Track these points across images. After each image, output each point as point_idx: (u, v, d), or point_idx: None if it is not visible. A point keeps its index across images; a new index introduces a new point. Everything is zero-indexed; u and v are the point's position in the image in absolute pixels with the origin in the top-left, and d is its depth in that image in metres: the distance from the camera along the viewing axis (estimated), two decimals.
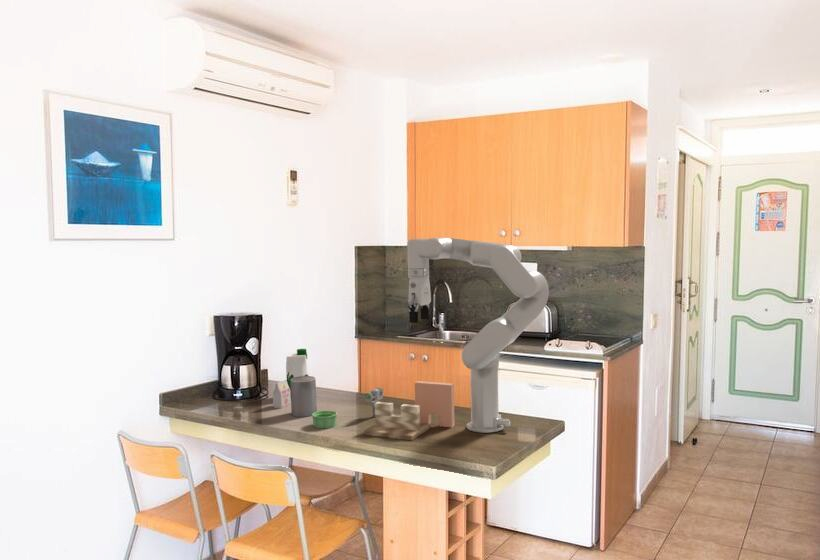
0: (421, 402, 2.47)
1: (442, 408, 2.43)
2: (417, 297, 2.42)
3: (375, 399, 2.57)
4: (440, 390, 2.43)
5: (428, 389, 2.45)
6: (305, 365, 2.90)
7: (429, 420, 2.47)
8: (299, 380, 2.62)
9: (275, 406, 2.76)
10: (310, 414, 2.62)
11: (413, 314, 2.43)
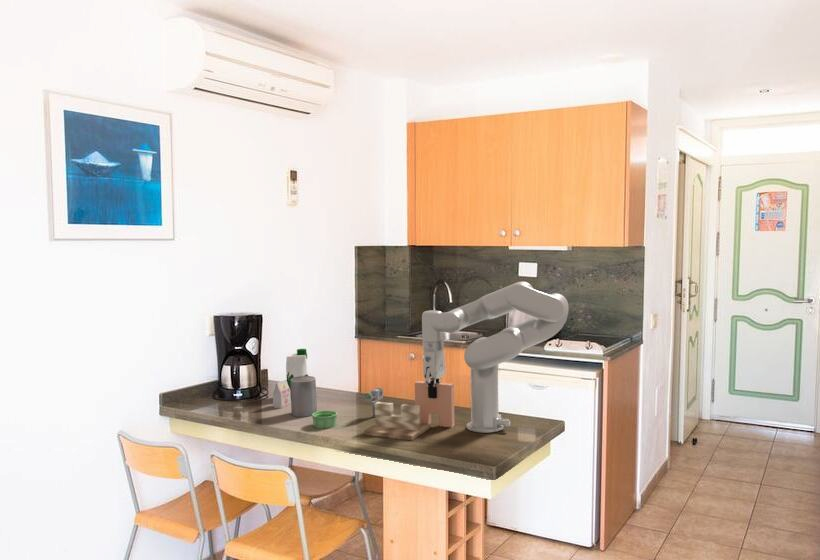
0: (421, 402, 2.47)
1: (442, 408, 2.43)
2: (432, 371, 2.40)
3: (375, 399, 2.57)
4: (440, 390, 2.43)
5: None
6: (305, 365, 2.90)
7: (429, 420, 2.47)
8: (299, 380, 2.62)
9: (275, 406, 2.76)
10: (310, 414, 2.62)
11: (432, 390, 2.43)
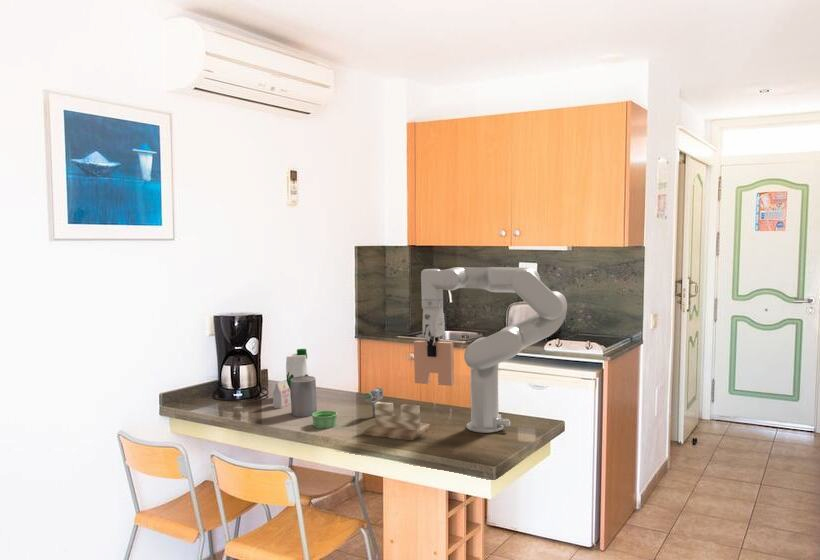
0: (420, 361, 2.46)
1: (442, 366, 2.42)
2: (431, 329, 2.39)
3: (375, 399, 2.57)
4: (439, 348, 2.42)
5: None
6: (305, 365, 2.90)
7: (428, 379, 2.46)
8: (299, 380, 2.62)
9: (275, 406, 2.76)
10: (310, 414, 2.62)
11: (431, 348, 2.42)
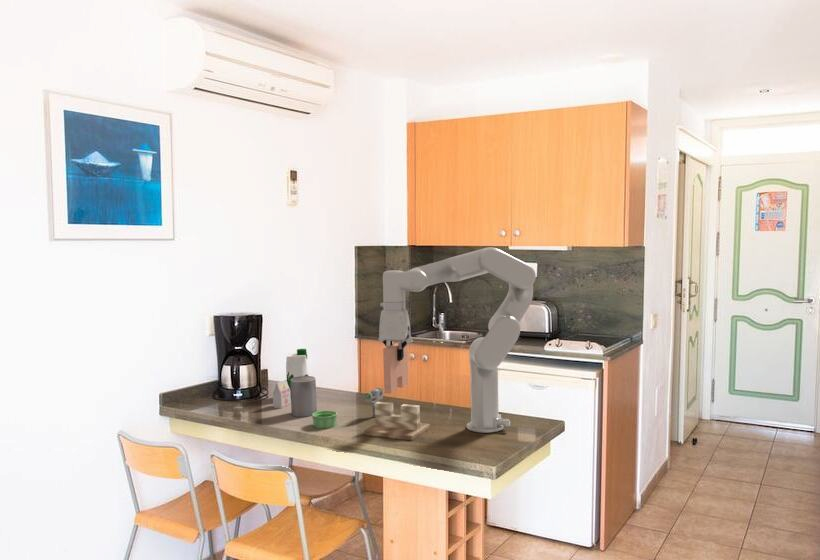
0: None
1: None
2: None
3: (375, 399, 2.57)
4: None
5: None
6: (305, 365, 2.90)
7: (398, 383, 2.40)
8: (299, 380, 2.62)
9: (275, 406, 2.76)
10: (310, 414, 2.62)
11: None
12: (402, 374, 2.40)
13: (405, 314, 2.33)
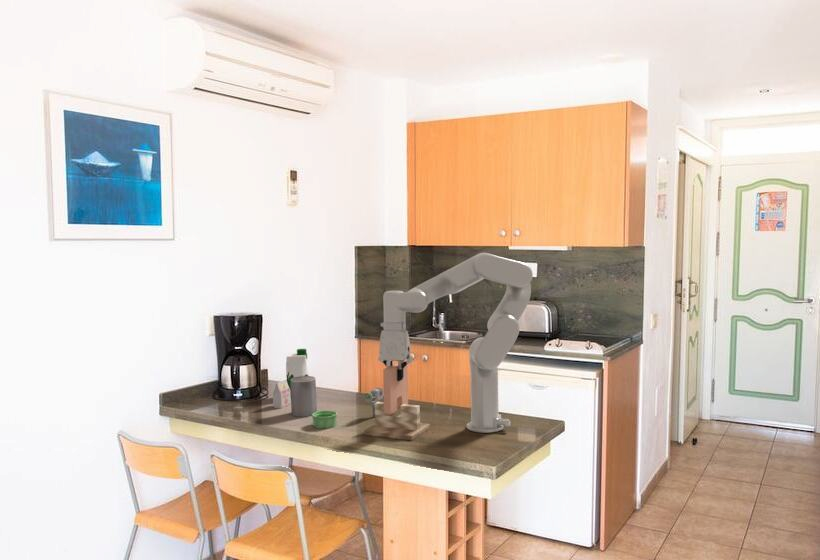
0: None
1: None
2: None
3: (375, 399, 2.57)
4: None
5: None
6: (305, 365, 2.90)
7: (398, 403, 2.41)
8: (299, 380, 2.62)
9: (275, 406, 2.76)
10: (310, 414, 2.62)
11: None
12: (402, 394, 2.40)
13: (405, 335, 2.34)
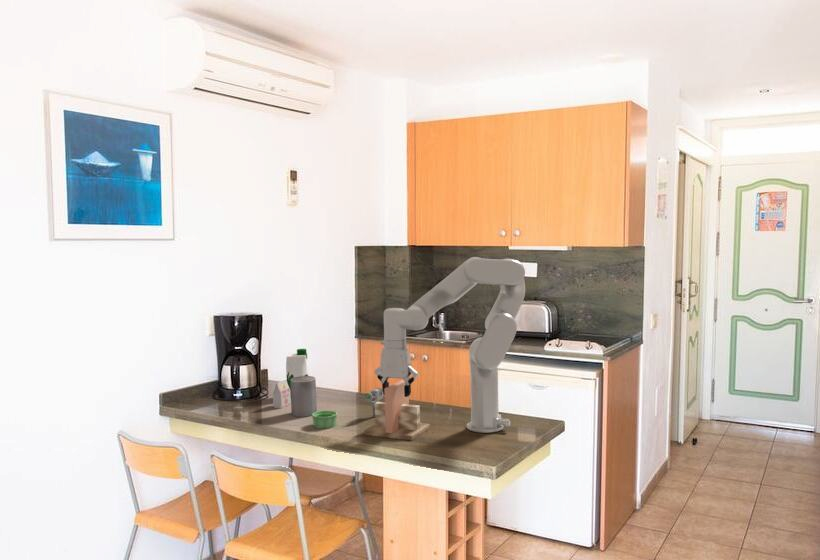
0: None
1: None
2: None
3: (375, 399, 2.57)
4: None
5: None
6: (305, 365, 2.90)
7: None
8: (299, 380, 2.62)
9: (275, 406, 2.76)
10: (310, 414, 2.62)
11: None
12: None
13: (406, 352, 2.34)
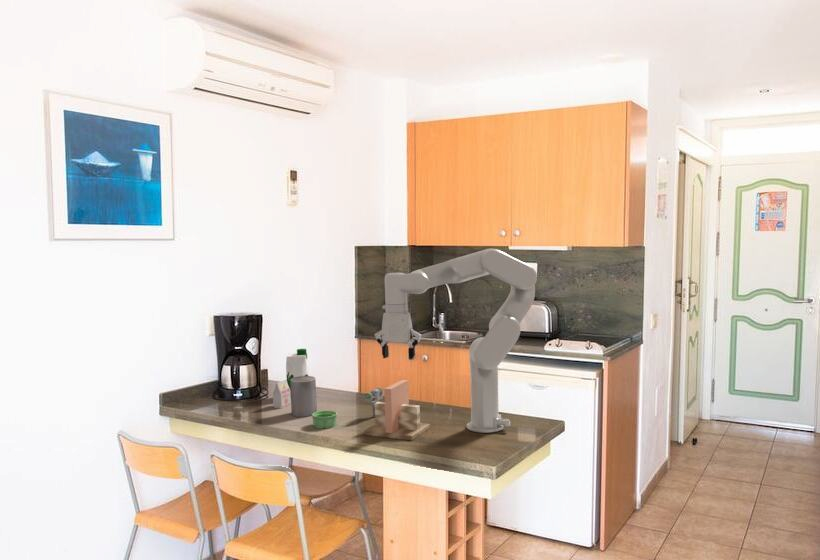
0: None
1: None
2: None
3: (375, 399, 2.57)
4: None
5: None
6: (305, 365, 2.90)
7: None
8: (299, 380, 2.62)
9: (275, 406, 2.76)
10: (310, 414, 2.62)
11: None
12: None
13: (407, 316, 2.34)
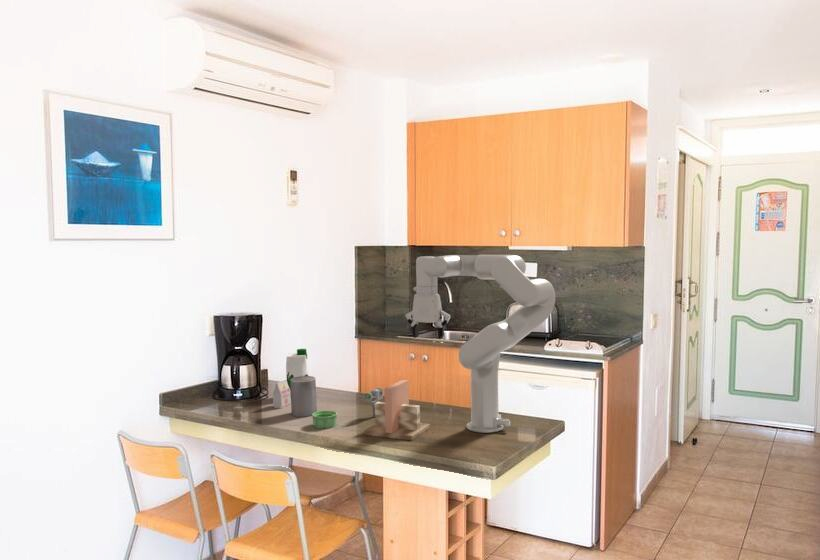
0: None
1: None
2: None
3: (375, 399, 2.57)
4: None
5: None
6: (305, 365, 2.90)
7: None
8: (299, 380, 2.62)
9: (275, 406, 2.76)
10: (310, 414, 2.62)
11: None
12: None
13: (437, 297, 2.47)
